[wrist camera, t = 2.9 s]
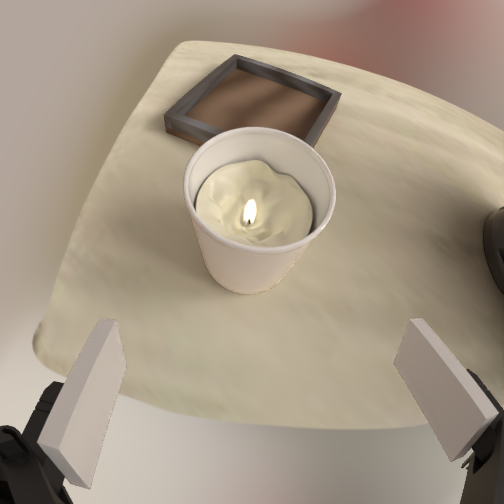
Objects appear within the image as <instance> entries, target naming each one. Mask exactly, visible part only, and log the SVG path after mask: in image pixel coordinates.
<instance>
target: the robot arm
mask: <svg viewBox="0 0 504 504" xmlns="http://www.w3.org/2000/svg"><path fill="white" fill-rule="evenodd" d="M483 239H484V248H485V253H486V257H487V261H488V264H489V267H490V270H491V272H492V275H493V277H494V279H495V281H496V283H497V285H498V286H499V288H500V289H501V291H502V292H503V293H504V207H501V208H499V209H497V210H496V211H495V212H494V213H492V214H491V215H490V216H489V217H488V218H487V220H486V222H485V226H484V233H483ZM394 365H395V367H396V368H397V370H398V371H399V373H400V375H401V376H402V378H403V380H404V381H405V383H406V384H407V386H408V388H409V389H410V391H411V393H412V394H413V396H414V398H415V399H416V401H417V403H418V405H419V406H420V408H421V410H422V411H423V413H424V415H425V417H426V418H427V420H428V422H429V424H430V425H431V427H432V429H433V431H434V432H435V434H436V436H437V438H438V440H439V441H440V443H441V445H442V447H443V449H444V450H445V452H446V454H447V456H448V458H449V459H450V461H451V462H452V461H454V460H456V459H458V458H461V457H463V456H464V455H465V454H466V453H467V451H469V450H470V449H471V447H472V449H473V451H474V452H473V453H472V454H471V456H470V457H469V458H468V459H467V460H466V461H465V462H464V463H463V464H462V467H461V468H464V467H465V466H466V465H467V464H468V463H469V466H468V467H467V468H466V469H468V472H467V476H466V481H465V485H464V489H463V493H462V497H461V501H460V504H504V410H503V408H502V407H501V406H500V404H499V403H498V402H497V400H496V399H495V398H494V397H493V395H492V394H491V393H490V391H488V390H487V388H486V386H485V385H484V384H483V382H482V381H481V380H480V379H479V377H478V376H477V375H476V374H474V373H473V372H472V371H470V370H469V369H465V368H464V367H463V365H462V364H461V363H460V362H459V361H458V359H457V358H456V357H455V356H454V354H453V353H452V352H451V351H450V350H449V348H448V347H447V346H446V345H445V344H444V343H443V341H442V340H441V339H440V338H439V337H438V336H437V334H436V333H435V332H434V331H433V330H432V329H431V327H430V326H429V325H428V324H427V323H426V322H425V321H424V320H423V318H415V319H410V320H409V323H408V325H407V328H406V331H405V334H404V337H403V339H402V342H401V345H400V347H399V350H398V353H397V355H396V358H395V360H394ZM126 369H127V366H126V362H125V357H124V353H123V349H122V345H121V340H120V336H119V331H118V326H117V321H116V320H114V319H103V318H100V319H99V321H98V323H97V324H96V326H95V328H94V330H93V331H92V333H91V335H90V337H89V338H88V340H87V342H86V344H85V346H84V347H83V349H82V351H81V353H80V355H79V357H78V358H77V360H76V362H75V364H74V366H73V368H72V370H71V372H70V374H69V376H68V377H67V379H66V381H65V383H60V382H55V381H54V382H53V383H51V384H50V385H49V386H48V387H47V388H46V389H45V390H44V392H43V394H42V395H41V397H40V399H39V400H40V401H39V402H38V403H37V405H36V407H35V410H34V411H33V413H32V415H31V417H30V419H29V421H28V423H27V425H26V427H25V429H24V431H23V433H22V435H21V434H20V432H19V431H18V430H17V429H16V428H14V427H12V426H8V425H6V426H0V504H73V502H72V500H71V498H70V497H69V495H68V493H67V491H66V489H65V487H64V486H63V481H64V478H66V479H67V480H68V481H69V482H70V484H73V485H76V486H79V487H83V488H87V489H91V485H92V480H93V477H94V473H95V469H96V465H97V461H98V458H99V455H100V451H101V447H102V444H103V441H104V437H105V433H106V430H107V427H108V424H109V421H110V417H111V414H112V411H113V408H114V405H115V402H116V399H117V396H118V393H119V390H120V387H121V384H122V381H123V378H124V375H125V372H126Z"/></svg>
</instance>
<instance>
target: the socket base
mask: <svg viewBox="0 0 504 504" xmlns="http://www.w3.org/2000/svg"><path fill="white" fill-rule="evenodd" d="M341 94H342V93H340V92H337V91H335V90H333V89H331V88H328V87H326V86H324V85H321V84H319V83H317V82H314V81H312V80H309V79H307V78H304V77H302V76H299V75H296V74H294V73H291V72H288V71H286V70H283V69H280V68H277V67H274V66H271V65H268V64H265V63H262V62H259V61H256V60H253V59H250V58H246V57H243V56H240V55H236V54H234V55H233V56H232V57H230V58H229V59H228V60H226V61H225V62H224V63H223V64H221V65H220V66H219V67H218V68H216V69H215V70H214V71H213V72H211V73H210V74H209V75H208V76H207V77H205V78H204V79H203V80H202V81H201V82H199V83H198V84H197V85H196V86H195V87H194V88H192V89H191V90H190V91H189V92H188V93H187V94H186V95H184V96H183V97H182V98H181V99H180V100H179V101H178V102H177V103H176V104H175V105H174V106H172V107H171V108H170V109H169V110H168V111H167V112H166V113H165V114H164V121H165V127H166V132H167V133H170V134H172V135H175V136H178V137H180V138H183V139H185V140H187V141H190V142H192V143H195V144H197V145H200V146H202V145H203V144H204V143H205V142H207V141H208V140H210V139H211V138H213V137H215V136H217V135H219V134H221V133H223V132H226V131H229V130H233V129H237V128H244V127H264V128H271V129H276V130H279V131H283V132H286V133H288V134H291V135H293V136H295V137H297V138H299V139H300V140H302V141H304V142H305V143H307V144H308V145H309V146H311V147H312V148H314V146H315V145H316V143H317V141H318V139H319V137H320V136H321V134H322V132H323V130H324V129H325V127H326V125H327V123H328V122H329V120H330V118H331V116H332V115H333V113H334V111H335V109H336V107H337V104H338V102H339V99H340V97H341Z"/></svg>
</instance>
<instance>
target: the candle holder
mask: <svg viewBox="0 0 504 504" xmlns="http://www.w3.org/2000/svg"><path fill="white" fill-rule="evenodd" d="M183 192H184V198H185V202H186V205H187V208H188V210H189V212H190V215H191V218H192V222H193V225H194V229H195V232H196V235H197V239H198V242H199V246H200V249H201V252H202V255H203V258H204V261H205V264H206V267H207V269H208V271H209V273H210V274H211V276H212V277H213V278H214V279H215V281H216V282H218V283H219V284H220V285H221V286H223V287H224V288H226V289H228V290H230V291H232V292H235V293H239V294H257V293H261V292H264V291H267V290H269V289H271V288H272V287H274V286H275V285H276V284H278V283H279V282H280V281H281V280H282V279H283V278H284V276H285V275H286V274H287V273H288V272H289V270H290V269H291V268H292V267H293V265H294V264H295V263H296V262H297V260H298V259H299V258H300V257H301V255H302V254H303V253H304V251H305V250H306V249H307V248H308V246H309V245H310V244H311V242H312V241H313V240H314V239H315V237H316V236H317V235H318V234H319V233H320V232H321V231H322V230H323V229H324V228H325V226H326V225H327V223H328V222H329V220H330V218H331V216H332V213H333V210H334V207H335V201H336V189H335V183H334V179H333V176H332V174H331V171H330V169H329V168H328V166H327V164H326V163H325V161H324V160H323V159H322V157H321V156H320V155H319V154H318V153H317V152H316V151H315V150H314V149H313V148H312V147H311V146H309V145H308V144H307V143H305V142H304V141H302V140H300V139H299V138H297V137H295V136H293V135H291V134H288V133H286V132H283V131H279V130H276V129H271V128H264V127H244V128H237V129H233V130H229V131H226V132H223V133H221V134H219V135H217V136H215V137H213V138H211V139H210V140H208V141H207V142H205V143H204V144H203V145H202V146H201V147H200V148H199V149H198V150H197V151H196V152H195V153H194V155H193V156H192V158H191V159H190V161H189V163H188V165H187V168H186V171H185V174H184V180H183Z"/></svg>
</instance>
